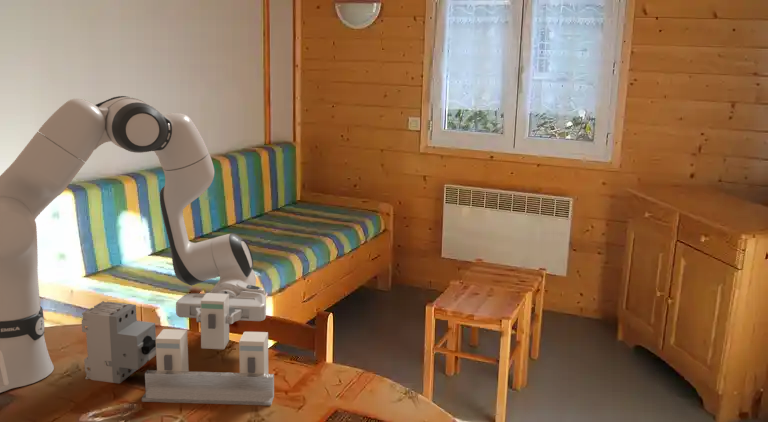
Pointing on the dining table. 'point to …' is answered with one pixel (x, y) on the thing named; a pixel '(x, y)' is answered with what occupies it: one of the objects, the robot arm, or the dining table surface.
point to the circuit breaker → (116, 341)
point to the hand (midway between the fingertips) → (214, 319)
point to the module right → (254, 352)
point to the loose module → (214, 321)
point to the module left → (172, 350)
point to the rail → (209, 387)
